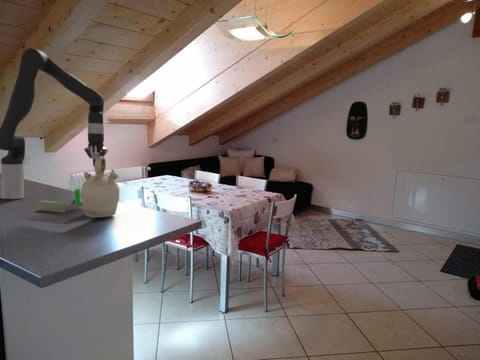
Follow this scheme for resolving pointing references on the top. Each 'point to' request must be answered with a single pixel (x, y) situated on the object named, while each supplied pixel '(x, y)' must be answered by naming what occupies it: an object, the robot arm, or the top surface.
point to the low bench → (56, 206)
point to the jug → (100, 192)
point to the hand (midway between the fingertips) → (96, 166)
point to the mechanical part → (77, 197)
